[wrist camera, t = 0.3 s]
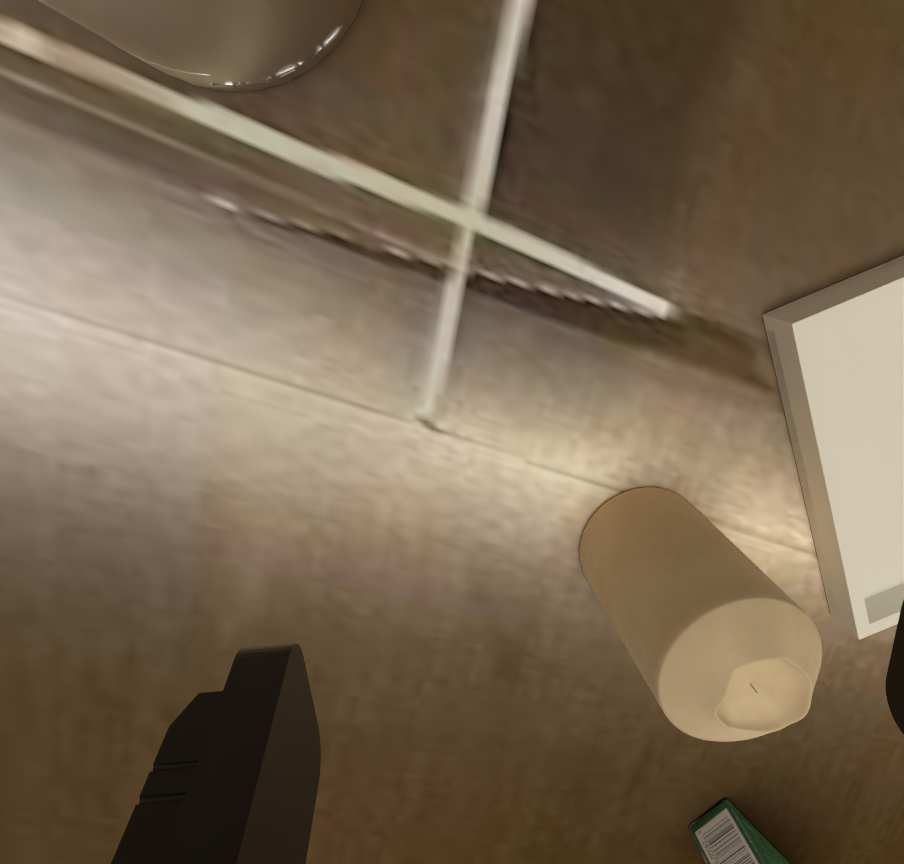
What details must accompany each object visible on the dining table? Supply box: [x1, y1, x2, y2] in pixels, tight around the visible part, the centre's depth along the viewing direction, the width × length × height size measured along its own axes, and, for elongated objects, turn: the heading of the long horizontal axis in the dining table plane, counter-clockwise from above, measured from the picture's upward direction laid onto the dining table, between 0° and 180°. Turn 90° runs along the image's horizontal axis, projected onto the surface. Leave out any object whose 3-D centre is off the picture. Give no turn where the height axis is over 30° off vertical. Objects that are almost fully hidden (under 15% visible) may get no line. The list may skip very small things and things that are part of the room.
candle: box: [579, 487, 822, 742], centre depth 26 cm, size 6×6×10 cm
